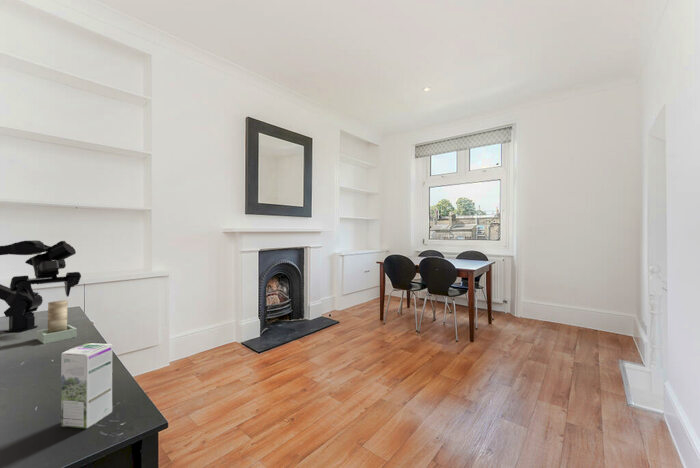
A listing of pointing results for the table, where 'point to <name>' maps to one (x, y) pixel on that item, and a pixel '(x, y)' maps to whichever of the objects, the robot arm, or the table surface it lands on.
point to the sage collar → (56, 335)
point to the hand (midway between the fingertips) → (51, 297)
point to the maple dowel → (57, 316)
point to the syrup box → (86, 385)
